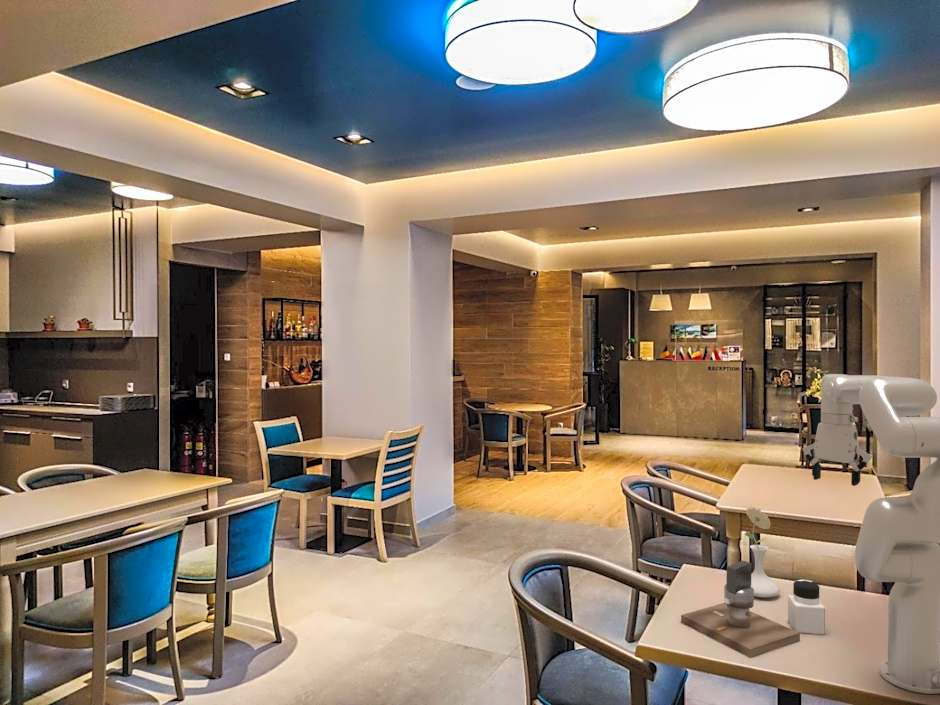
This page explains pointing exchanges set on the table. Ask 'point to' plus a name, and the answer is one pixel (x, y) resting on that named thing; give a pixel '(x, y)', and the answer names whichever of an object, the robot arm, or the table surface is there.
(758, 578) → the flower in vase
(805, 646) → the table surface
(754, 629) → the brown wooden board
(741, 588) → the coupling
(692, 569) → the table surface
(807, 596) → the medicine bottle
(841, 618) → the table surface
